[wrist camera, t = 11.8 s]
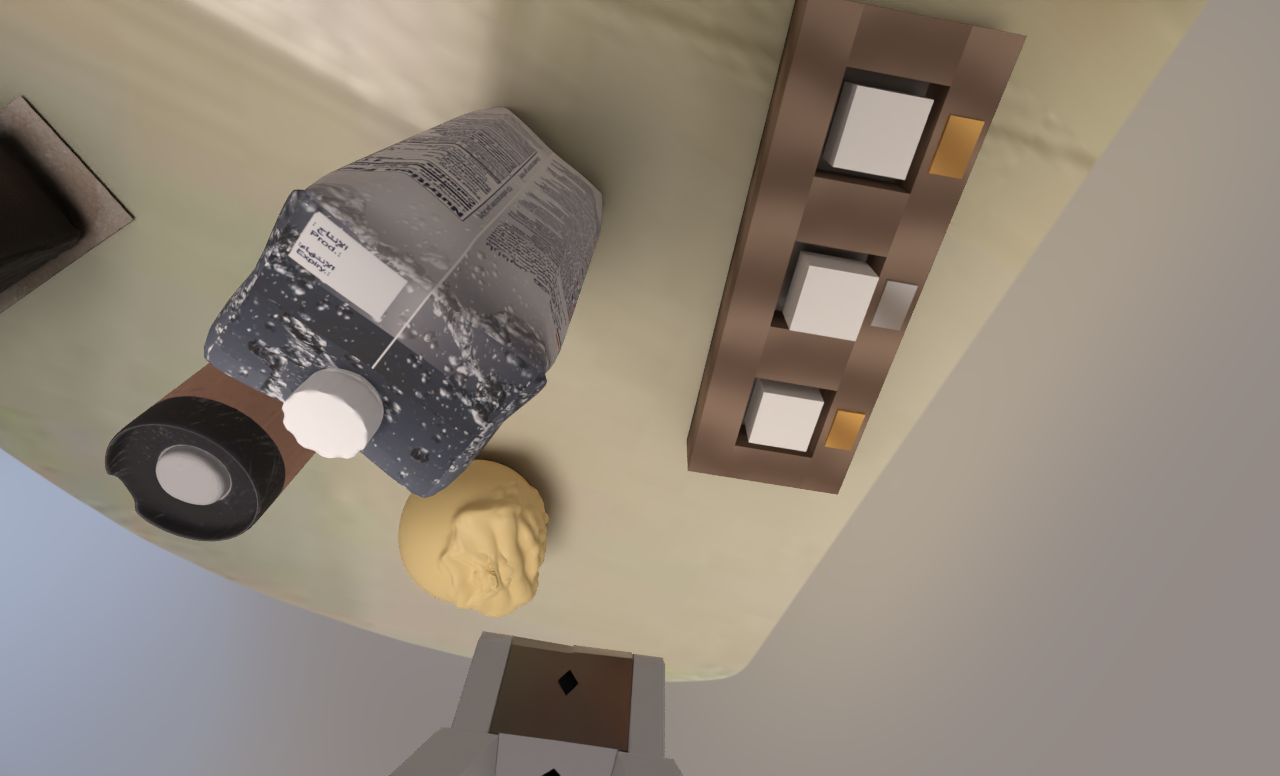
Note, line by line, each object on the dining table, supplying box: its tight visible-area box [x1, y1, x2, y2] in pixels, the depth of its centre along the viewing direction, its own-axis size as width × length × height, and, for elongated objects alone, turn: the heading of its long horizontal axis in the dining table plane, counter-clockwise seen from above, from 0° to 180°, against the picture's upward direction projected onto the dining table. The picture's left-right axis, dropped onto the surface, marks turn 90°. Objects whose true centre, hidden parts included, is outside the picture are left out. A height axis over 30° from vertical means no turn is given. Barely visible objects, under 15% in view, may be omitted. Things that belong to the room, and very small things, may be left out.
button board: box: [687, 0, 1027, 494], centre depth 43 cm, size 32×12×4 cm, turn 170°
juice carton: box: [204, 107, 602, 498], centre depth 32 cm, size 9×10×27 cm
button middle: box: [782, 251, 879, 341], centre depth 41 cm, size 4×4×3 cm
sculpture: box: [399, 460, 549, 617], centre depth 52 cm, size 11×12×11 cm
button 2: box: [822, 81, 934, 180], centre depth 38 cm, size 4×4×3 cm
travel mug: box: [105, 363, 315, 541], centre depth 40 cm, size 8×8×20 cm
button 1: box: [744, 378, 824, 452], centre depth 48 cm, size 4×4×3 cm
